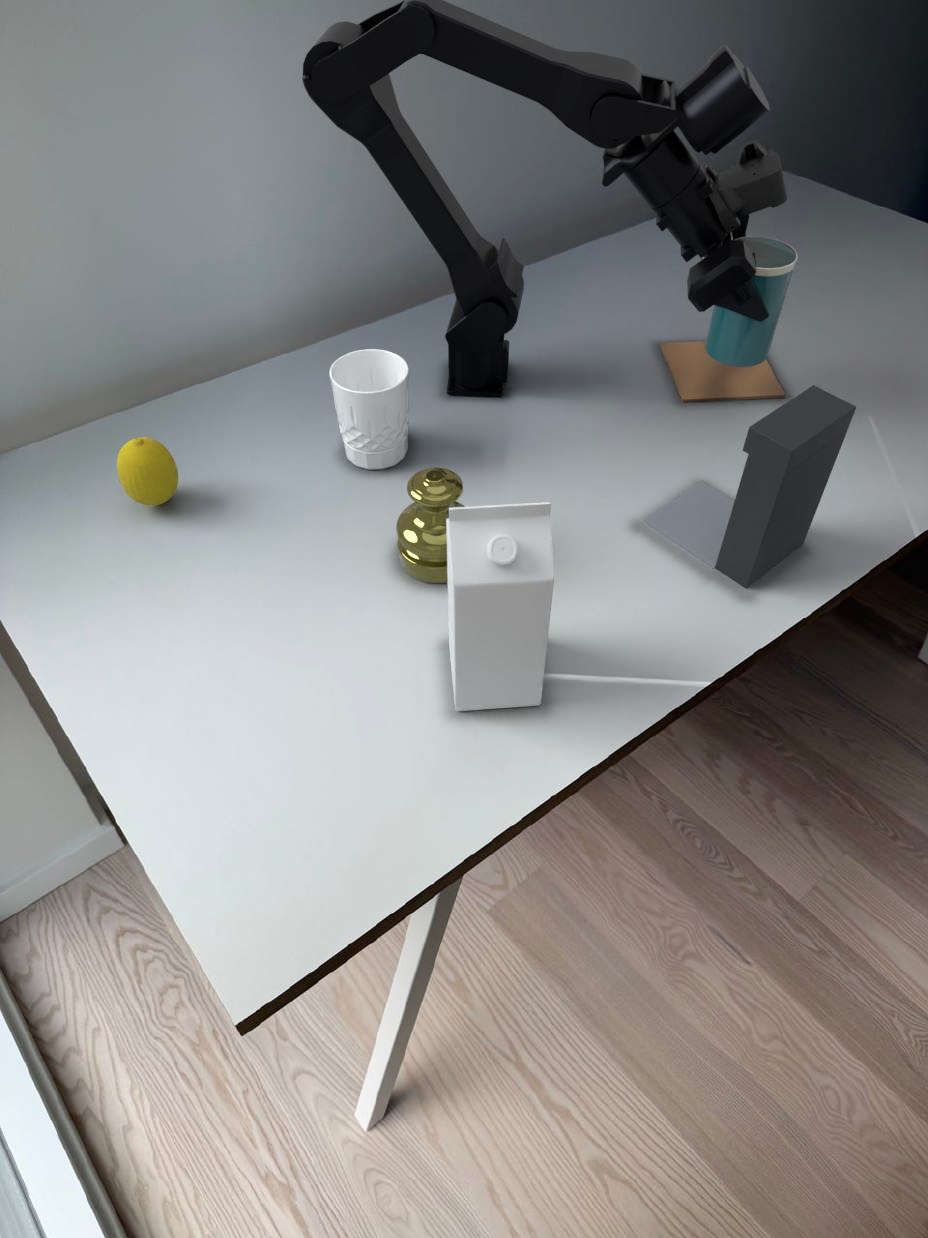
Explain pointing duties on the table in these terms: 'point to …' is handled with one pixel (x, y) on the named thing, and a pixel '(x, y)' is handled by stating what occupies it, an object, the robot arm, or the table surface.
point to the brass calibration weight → (428, 523)
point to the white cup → (372, 406)
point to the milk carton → (499, 603)
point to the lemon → (147, 471)
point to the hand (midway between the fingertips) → (762, 301)
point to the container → (743, 336)
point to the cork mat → (716, 376)
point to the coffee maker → (763, 491)
